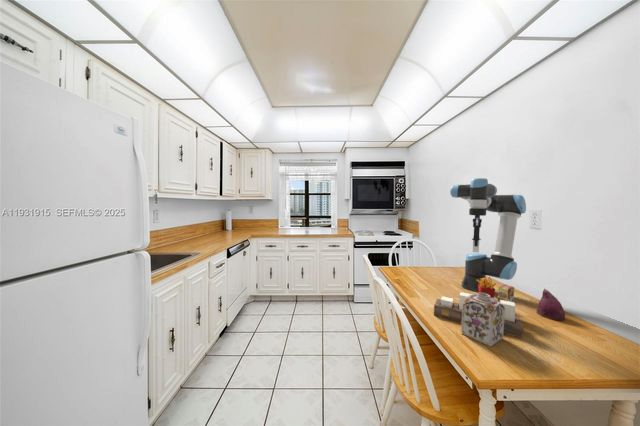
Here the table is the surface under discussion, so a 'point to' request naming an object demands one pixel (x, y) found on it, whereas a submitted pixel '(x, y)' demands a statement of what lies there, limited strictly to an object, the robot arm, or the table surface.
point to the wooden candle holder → (456, 315)
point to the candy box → (506, 293)
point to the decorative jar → (483, 318)
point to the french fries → (486, 287)
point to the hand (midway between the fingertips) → (475, 252)
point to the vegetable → (550, 307)
